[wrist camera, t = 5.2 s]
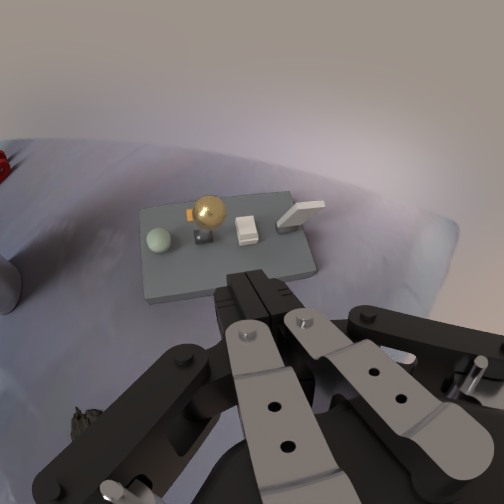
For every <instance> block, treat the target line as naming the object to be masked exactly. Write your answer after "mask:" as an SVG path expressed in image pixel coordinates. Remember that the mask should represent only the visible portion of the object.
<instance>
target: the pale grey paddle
mask: <svg viewBox="0 0 504 504" xmlns="http://www.w3.org/2000/svg"><path fill="white" fill-rule="evenodd" d="M323 208H325V203H324V200H323V201H311V202H300V203H295V204H294V205H293V206H292V207H291V208H290V209H289V210H288V211H287V212H286V213H285V214H284V215H283V216H282V217H281V218H280V219H278V220H276V222H275V227H276V231H277V233H278V234H279V233H286V232H294V231H298V225H302V224H303V223H304V222H306V221H307V220H308V219H310V218H311V217H312V216H314V215H315V214H317V213H318V212H319V211H321V210H322V209H323Z"/></svg>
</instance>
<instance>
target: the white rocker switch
mask: <svg viewBox="0 0 504 504" xmlns="http://www.w3.org/2000/svg"><path fill="white" fill-rule="evenodd" d="M235 225H236V230H237V235H238V240H239V245H240V246H242V245H249V244H256V243H257V242H258V240H259V239H258V233H257V230H256V226H255V221H254V217H253V216H245V217H236V220H235Z"/></svg>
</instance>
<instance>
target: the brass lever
mask: <svg viewBox="0 0 504 504" xmlns="http://www.w3.org/2000/svg"><path fill="white" fill-rule="evenodd" d="M226 216H227V209H226V206H225V204H224V202H223V201H222V200H221V199H220V198H218V197H216V196H212V195H207V196H203V197H201V198H199V199H198V200H197V201H196V202H195V204H194V206H193V208H192V218H193V220H194V222H195V224H196V225H197V226H198V227H200V230H193V231H194V239H195V245H200V244H207V243H213V235H212V230H214V229H217V228H219V227H220V226H221V225H222V224H223V223H224V221H225V219H226Z"/></svg>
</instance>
